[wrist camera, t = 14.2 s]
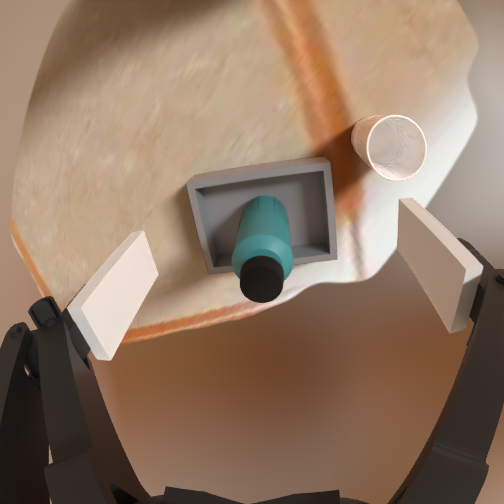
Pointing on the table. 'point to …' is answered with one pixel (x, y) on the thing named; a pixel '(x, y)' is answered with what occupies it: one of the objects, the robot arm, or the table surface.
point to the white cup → (390, 145)
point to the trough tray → (266, 184)
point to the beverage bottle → (263, 249)
